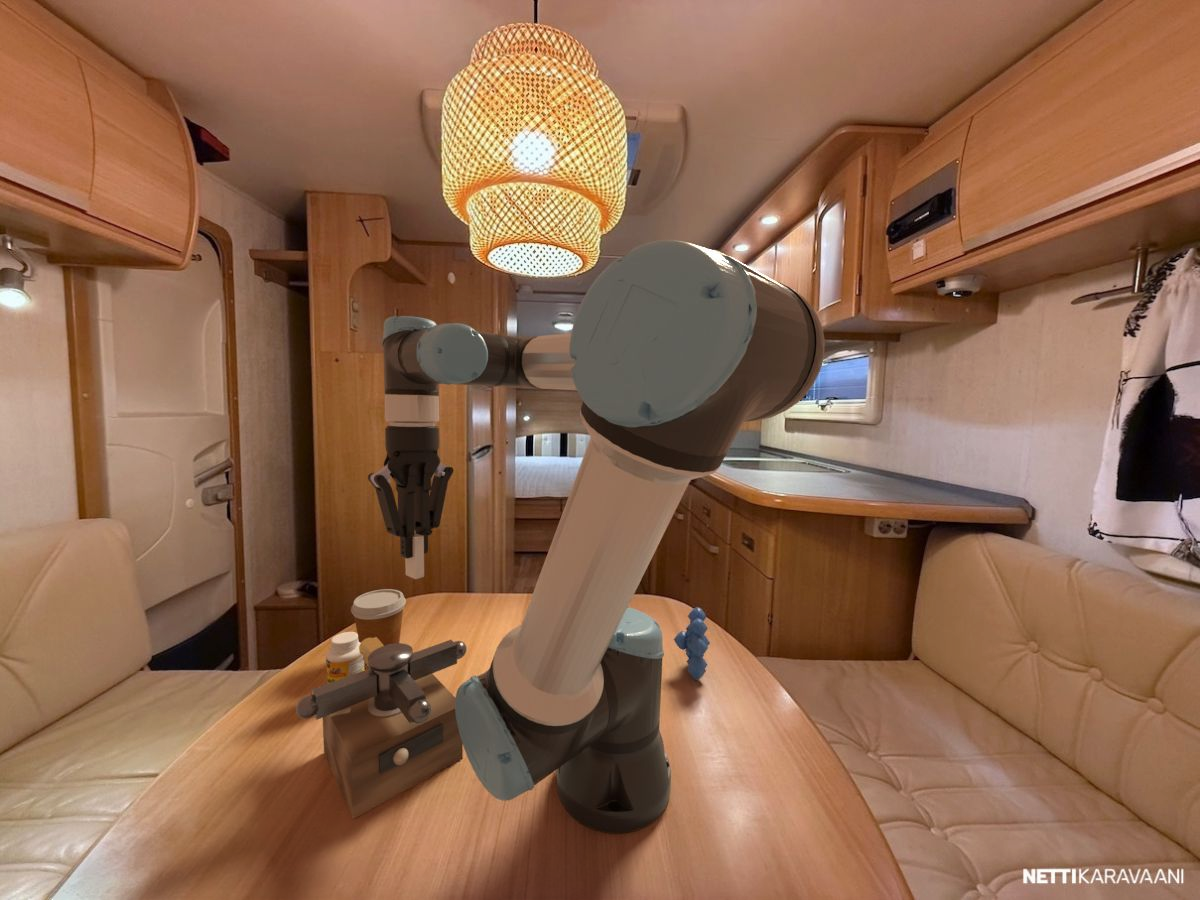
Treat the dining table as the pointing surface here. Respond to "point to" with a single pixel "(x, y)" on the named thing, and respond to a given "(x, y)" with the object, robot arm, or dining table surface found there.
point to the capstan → (385, 680)
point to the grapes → (694, 643)
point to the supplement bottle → (344, 657)
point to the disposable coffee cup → (379, 615)
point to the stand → (390, 747)
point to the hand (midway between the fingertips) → (414, 575)
